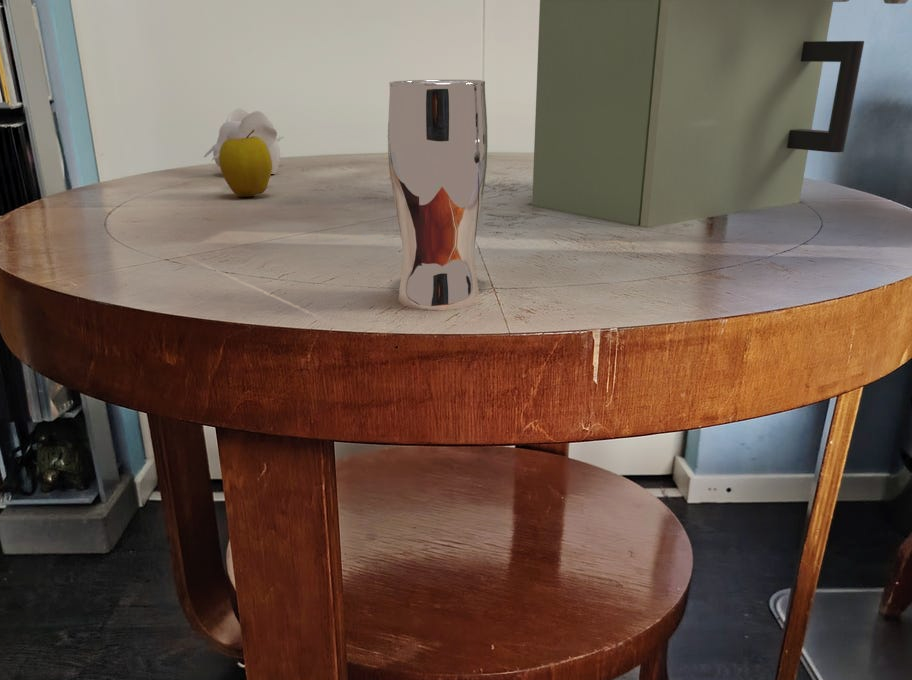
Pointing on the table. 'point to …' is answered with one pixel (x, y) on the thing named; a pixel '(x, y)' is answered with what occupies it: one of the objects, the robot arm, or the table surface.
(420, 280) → the beer glass
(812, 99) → the door
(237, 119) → the elephant figurine
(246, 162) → the apple
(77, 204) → the table surface
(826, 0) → the robot arm
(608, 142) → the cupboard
